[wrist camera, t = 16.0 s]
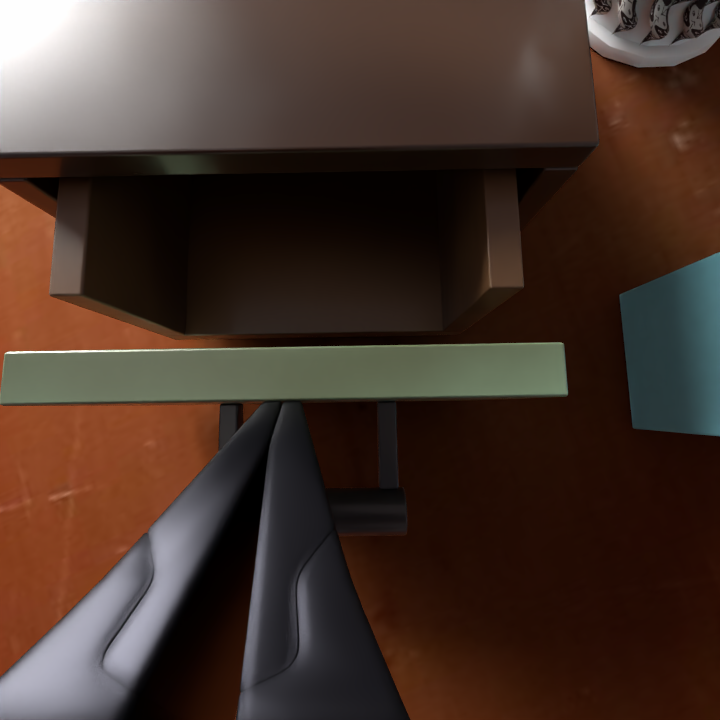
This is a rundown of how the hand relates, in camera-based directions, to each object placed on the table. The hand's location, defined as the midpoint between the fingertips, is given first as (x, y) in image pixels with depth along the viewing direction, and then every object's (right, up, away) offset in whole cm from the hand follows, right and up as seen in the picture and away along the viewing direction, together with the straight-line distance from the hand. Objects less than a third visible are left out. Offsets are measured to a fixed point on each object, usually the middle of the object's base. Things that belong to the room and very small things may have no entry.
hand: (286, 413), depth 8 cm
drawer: (0, +4, +6) cm, 7 cm away
